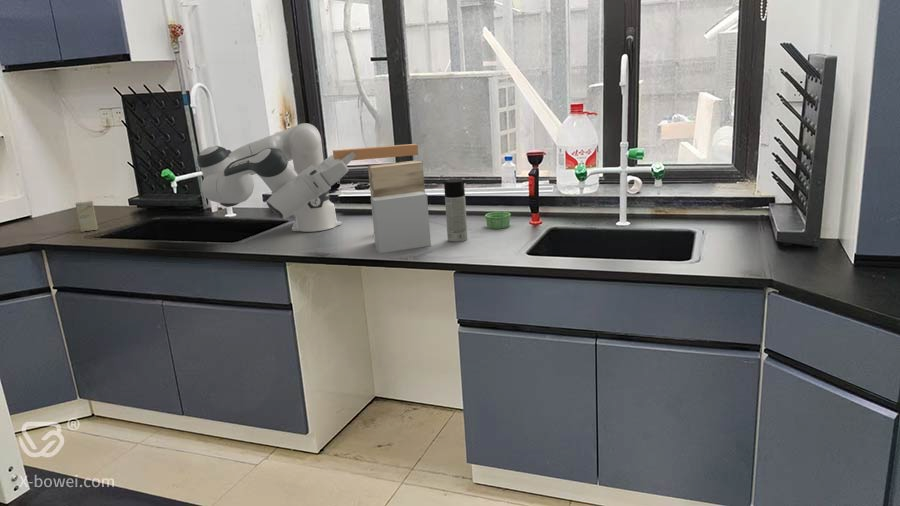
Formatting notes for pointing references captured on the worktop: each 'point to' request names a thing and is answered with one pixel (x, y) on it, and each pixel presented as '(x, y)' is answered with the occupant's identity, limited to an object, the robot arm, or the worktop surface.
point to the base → (401, 221)
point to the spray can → (455, 210)
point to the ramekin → (498, 220)
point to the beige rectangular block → (396, 178)
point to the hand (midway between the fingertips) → (352, 153)
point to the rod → (378, 152)
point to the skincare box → (86, 216)
